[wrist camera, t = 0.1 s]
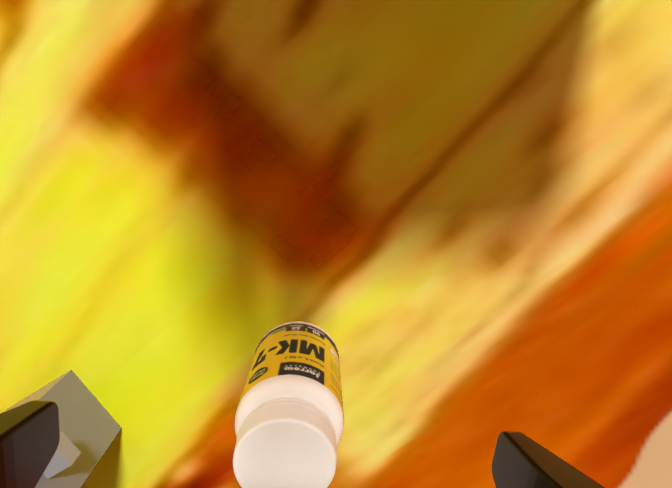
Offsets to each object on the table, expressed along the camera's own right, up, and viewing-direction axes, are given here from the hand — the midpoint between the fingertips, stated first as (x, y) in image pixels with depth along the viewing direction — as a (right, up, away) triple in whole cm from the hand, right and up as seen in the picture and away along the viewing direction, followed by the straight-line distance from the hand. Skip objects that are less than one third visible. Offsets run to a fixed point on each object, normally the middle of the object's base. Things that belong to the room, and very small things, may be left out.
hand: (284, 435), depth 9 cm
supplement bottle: (-1, -3, +16) cm, 16 cm away
